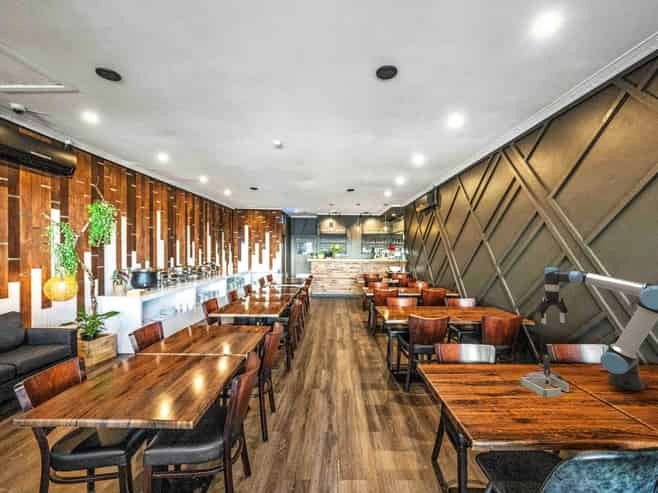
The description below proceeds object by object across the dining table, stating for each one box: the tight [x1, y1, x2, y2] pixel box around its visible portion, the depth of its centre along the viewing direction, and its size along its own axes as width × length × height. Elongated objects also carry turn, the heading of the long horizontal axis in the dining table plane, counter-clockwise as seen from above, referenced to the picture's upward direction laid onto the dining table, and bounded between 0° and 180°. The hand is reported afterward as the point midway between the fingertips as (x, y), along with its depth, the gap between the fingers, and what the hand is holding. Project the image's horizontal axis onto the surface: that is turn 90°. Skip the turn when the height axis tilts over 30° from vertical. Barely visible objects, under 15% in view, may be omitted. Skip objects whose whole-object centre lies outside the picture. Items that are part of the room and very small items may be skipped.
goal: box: [519, 376, 562, 399], centre depth 170 cm, size 10×17×4 cm, turn 7°
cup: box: [528, 372, 551, 389], centre depth 171 cm, size 11×8×8 cm
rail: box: [522, 372, 564, 383], centre depth 183 cm, size 22×5×3 cm, turn 97°
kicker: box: [537, 354, 570, 393], centre depth 177 cm, size 6×20×15 cm, turn 7°
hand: (553, 323), depth 196 cm, fingers open, 13 cm apart
